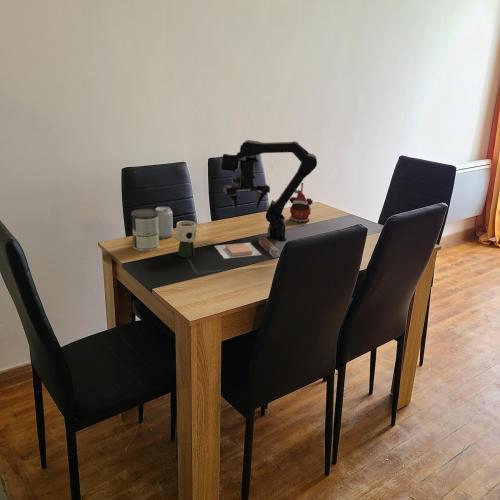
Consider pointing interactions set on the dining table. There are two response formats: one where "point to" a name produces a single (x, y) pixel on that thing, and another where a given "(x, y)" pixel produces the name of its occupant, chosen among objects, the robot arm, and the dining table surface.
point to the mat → (227, 255)
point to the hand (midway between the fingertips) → (245, 209)
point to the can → (165, 222)
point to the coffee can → (145, 229)
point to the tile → (238, 249)
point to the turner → (269, 246)
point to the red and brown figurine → (300, 206)
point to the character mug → (186, 238)
